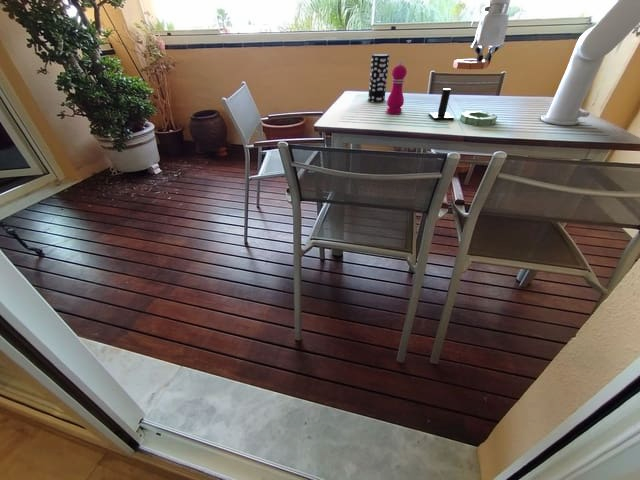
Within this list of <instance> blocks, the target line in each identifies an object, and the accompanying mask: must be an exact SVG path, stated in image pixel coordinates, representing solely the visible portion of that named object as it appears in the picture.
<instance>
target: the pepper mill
mask: <svg viewBox="0 0 640 480" xmlns="http://www.w3.org/2000/svg"><path fill="white" fill-rule="evenodd" d="M403 64H404V63H403V61H402V60H400V61H398V62H397V65H396V66H394V67H393V68H392V71H391V76H392V78H391V79H392V80H391V83H392V87H391V90H390V94H389V95H388V97H387V100H386V105H387V108H386V113H387V114H388V115H401V113H402V109H403V108H402V107H403V105H404V103H405V98H404V93H403V84H404V83H405V77H406V76H407V75H408V69H407V67H405V66H404V65H403Z"/></svg>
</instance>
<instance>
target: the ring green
mask: <svg viewBox="0 0 640 480" xmlns="http://www.w3.org/2000/svg"><path fill="white" fill-rule="evenodd" d="M459 119H460V121H461V122H463V123H465V124H468V125H473V126H478V127H479V126H493V125H494V124H496V122H497V119H498V116H497V115H496V114H494V113H491V112H488V111H481V110H466V111H464V112H462V113H461V114H460V117H459Z"/></svg>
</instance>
